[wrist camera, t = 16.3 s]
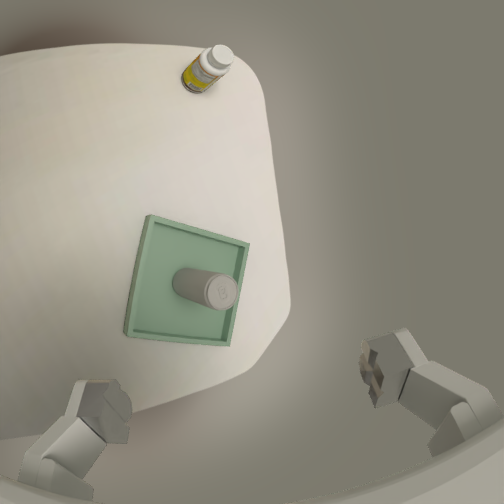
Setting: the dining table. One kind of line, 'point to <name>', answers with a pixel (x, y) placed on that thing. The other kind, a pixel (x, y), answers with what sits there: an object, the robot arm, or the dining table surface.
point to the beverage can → (206, 288)
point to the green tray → (161, 283)
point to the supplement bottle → (207, 68)
